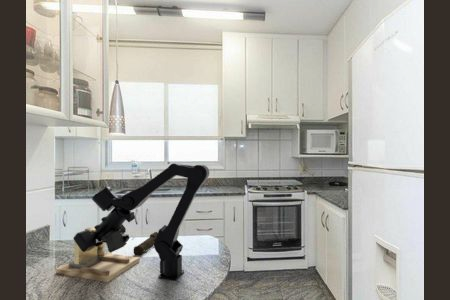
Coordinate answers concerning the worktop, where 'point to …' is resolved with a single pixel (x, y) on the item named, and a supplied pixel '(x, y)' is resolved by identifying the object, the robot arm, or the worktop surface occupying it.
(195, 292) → the worktop surface
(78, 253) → the tan upright block
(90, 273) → the board
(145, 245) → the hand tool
